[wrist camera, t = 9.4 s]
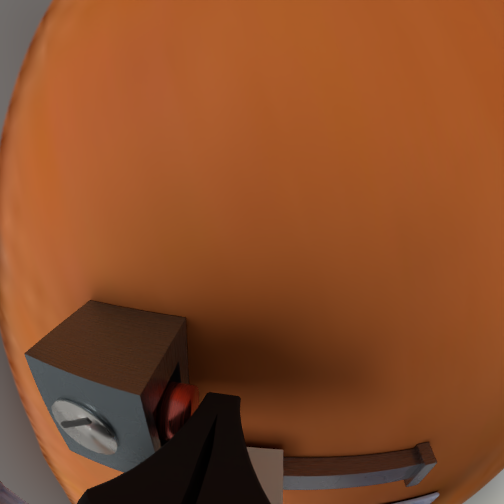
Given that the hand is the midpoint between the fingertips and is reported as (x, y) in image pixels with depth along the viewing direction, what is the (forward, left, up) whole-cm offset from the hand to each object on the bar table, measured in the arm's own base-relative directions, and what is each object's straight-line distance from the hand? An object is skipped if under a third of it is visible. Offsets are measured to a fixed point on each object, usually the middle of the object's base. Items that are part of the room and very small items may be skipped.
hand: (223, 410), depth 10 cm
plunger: (0, +3, -1) cm, 3 cm away
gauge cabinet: (0, +4, -2) cm, 5 cm away
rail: (-8, -5, -2) cm, 9 cm away
